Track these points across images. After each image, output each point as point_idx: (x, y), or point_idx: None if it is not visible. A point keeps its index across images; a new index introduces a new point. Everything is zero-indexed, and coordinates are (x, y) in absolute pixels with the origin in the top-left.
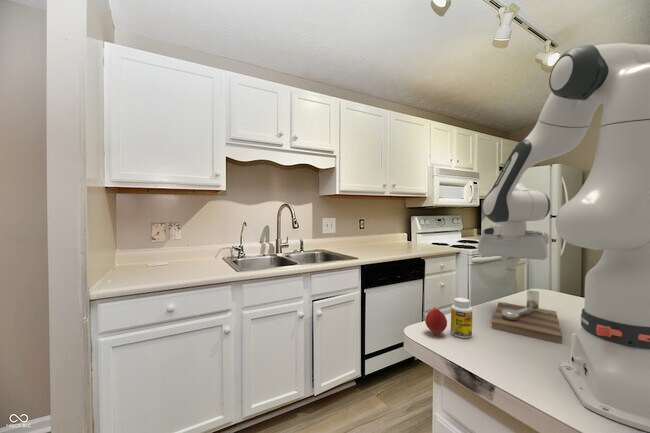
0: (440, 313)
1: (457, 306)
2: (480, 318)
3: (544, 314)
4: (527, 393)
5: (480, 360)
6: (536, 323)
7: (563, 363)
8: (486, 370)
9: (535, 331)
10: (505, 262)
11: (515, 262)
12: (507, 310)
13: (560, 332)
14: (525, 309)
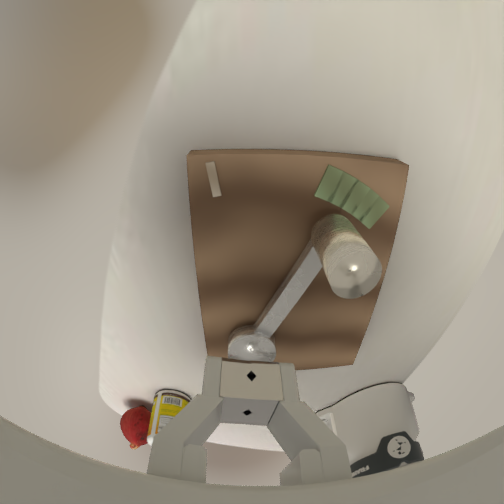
0: (145, 443)
1: None
2: (169, 314)
3: (362, 232)
4: (273, 446)
5: (224, 432)
6: (318, 329)
7: (321, 417)
8: (234, 440)
9: (305, 368)
10: (200, 441)
11: (290, 454)
12: (243, 352)
13: (357, 349)
14: (301, 281)
